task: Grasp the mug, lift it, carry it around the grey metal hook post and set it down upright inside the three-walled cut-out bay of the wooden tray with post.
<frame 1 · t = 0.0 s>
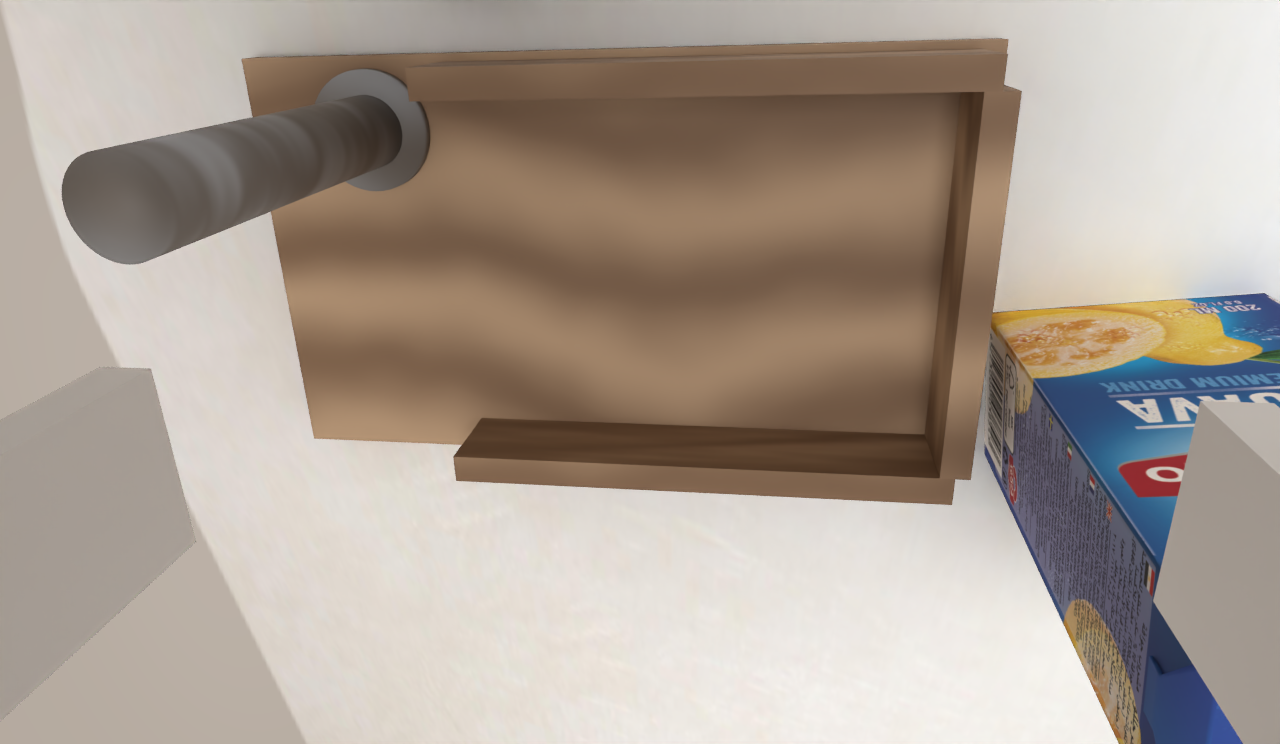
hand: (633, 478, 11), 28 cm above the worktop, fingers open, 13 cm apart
wooden tray with post: (614, 261, 39), on the worktop
beverage box: (1114, 375, 38), on the worktop
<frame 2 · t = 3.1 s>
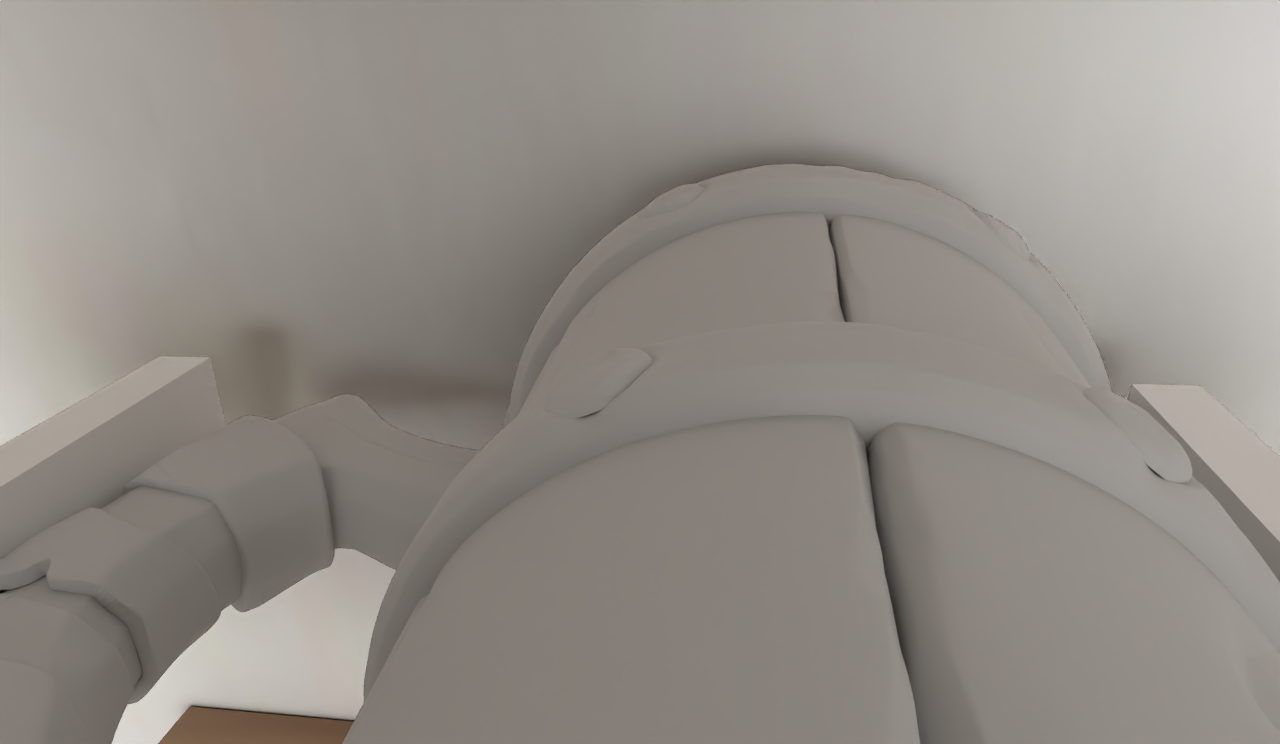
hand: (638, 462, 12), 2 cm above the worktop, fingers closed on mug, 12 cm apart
mug: (658, 396, 13), on the worktop, touching gripper
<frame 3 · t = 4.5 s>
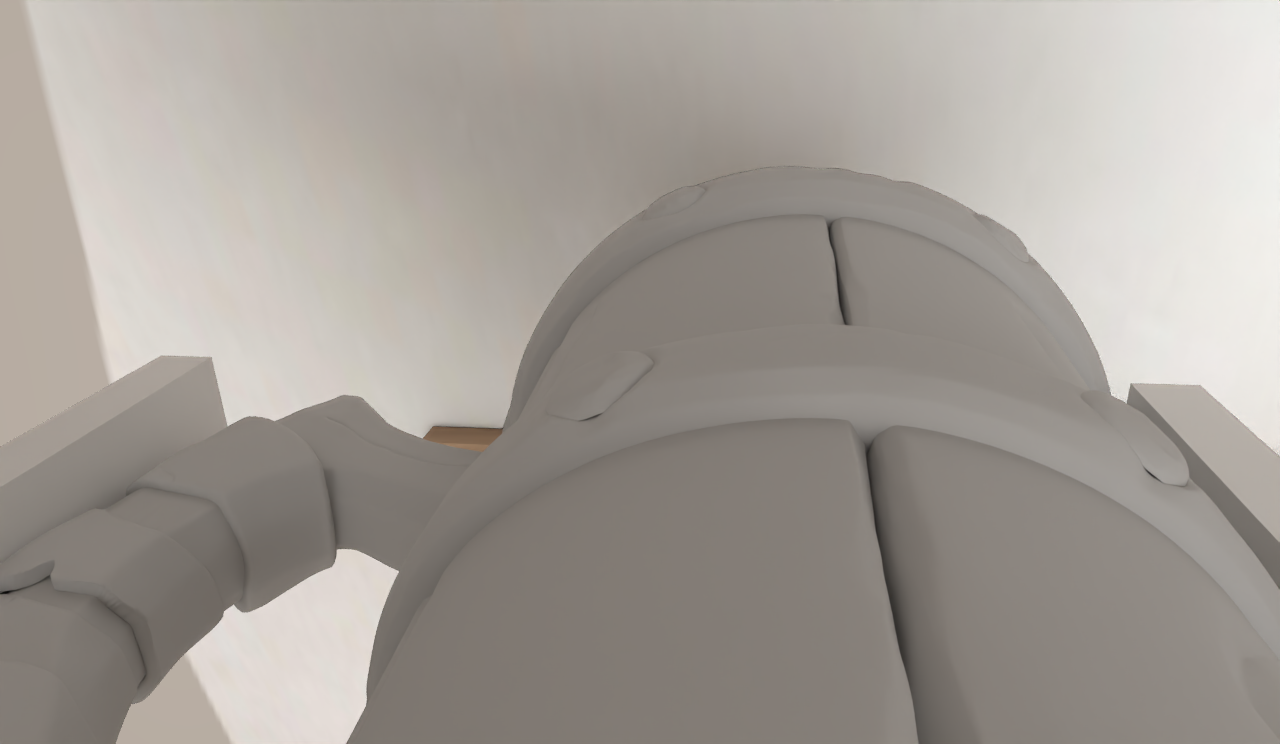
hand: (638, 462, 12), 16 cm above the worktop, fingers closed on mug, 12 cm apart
wooden tray with post: (879, 671, 31), on the worktop
mug: (658, 397, 14), point 13 cm above the worktop, touching gripper
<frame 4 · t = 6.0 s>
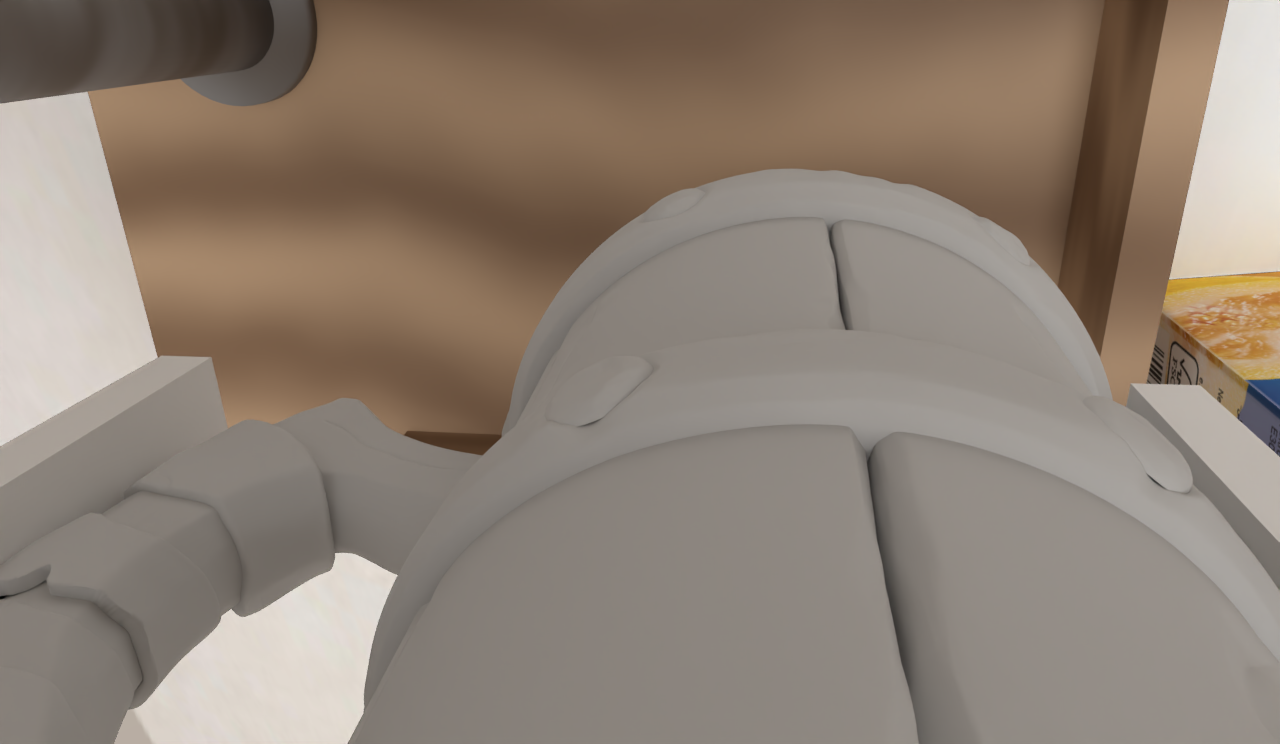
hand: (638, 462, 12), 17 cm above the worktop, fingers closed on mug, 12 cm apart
wooden tray with post: (588, 210, 28), on the worktop
mug: (658, 399, 13), point 15 cm above the worktop, touching gripper
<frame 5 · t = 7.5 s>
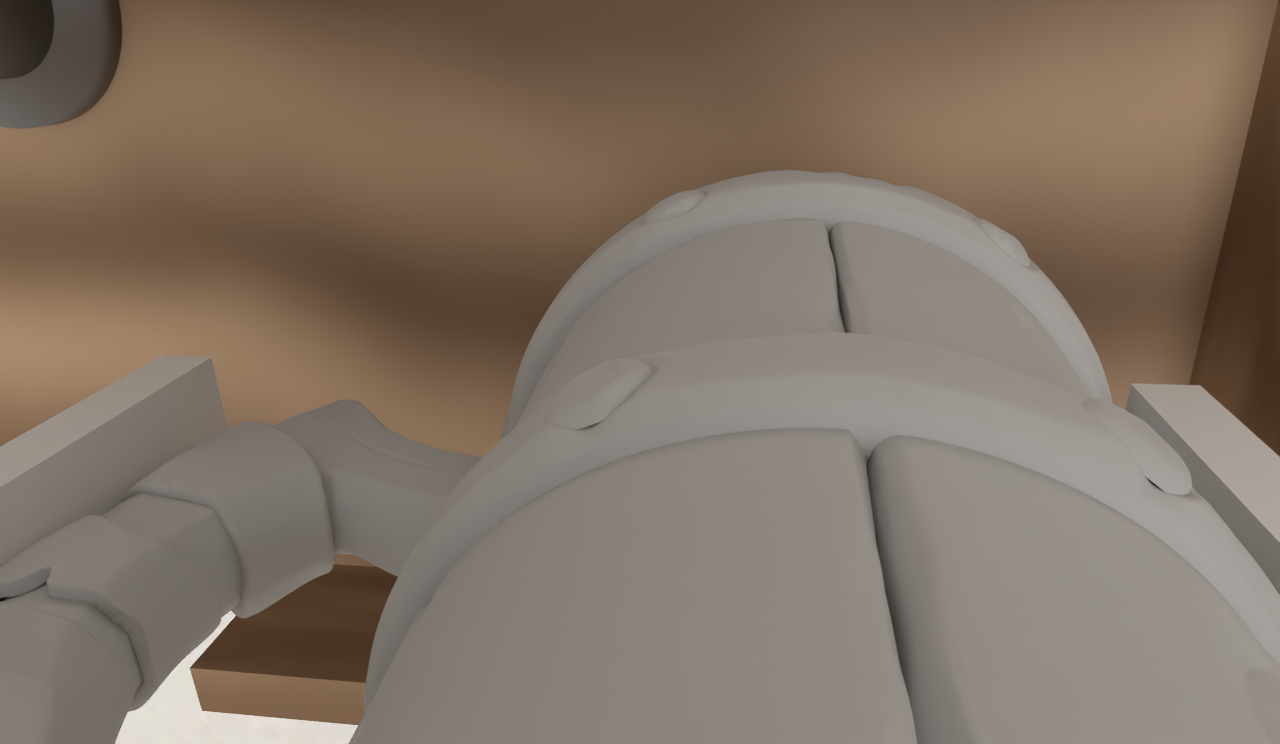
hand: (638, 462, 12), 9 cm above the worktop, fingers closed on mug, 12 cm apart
wooden tray with post: (519, 271, 20), on the worktop
mug: (658, 400, 13), point 6 cm above the worktop, touching gripper
when the fingers open (4 cm above the worktop, at t = 9.0 s): mug drops 1 cm, resting on wooden tray with post.
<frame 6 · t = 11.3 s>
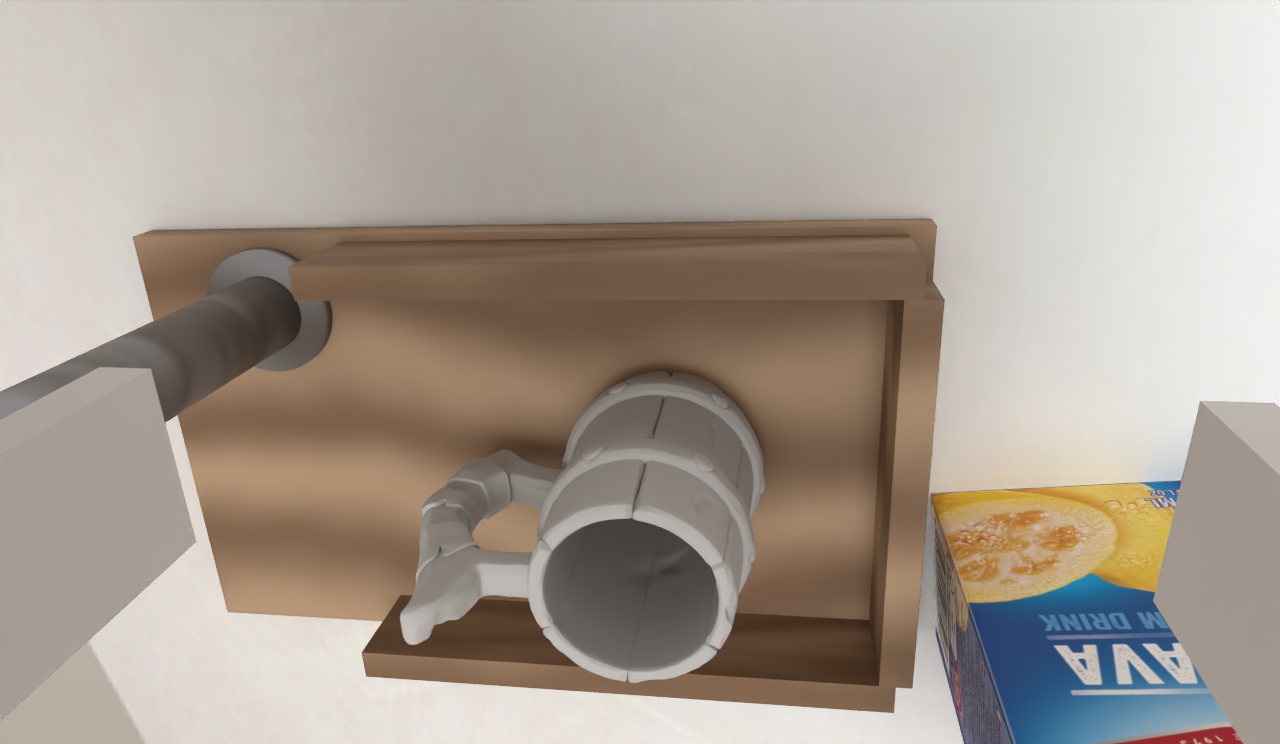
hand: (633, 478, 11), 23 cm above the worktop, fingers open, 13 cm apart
wooden tray with post: (534, 436, 37), on the worktop
mug: (618, 447, 35), point 1 cm above the worktop, touching wooden tray with post
beverage box: (1070, 557, 36), on the worktop
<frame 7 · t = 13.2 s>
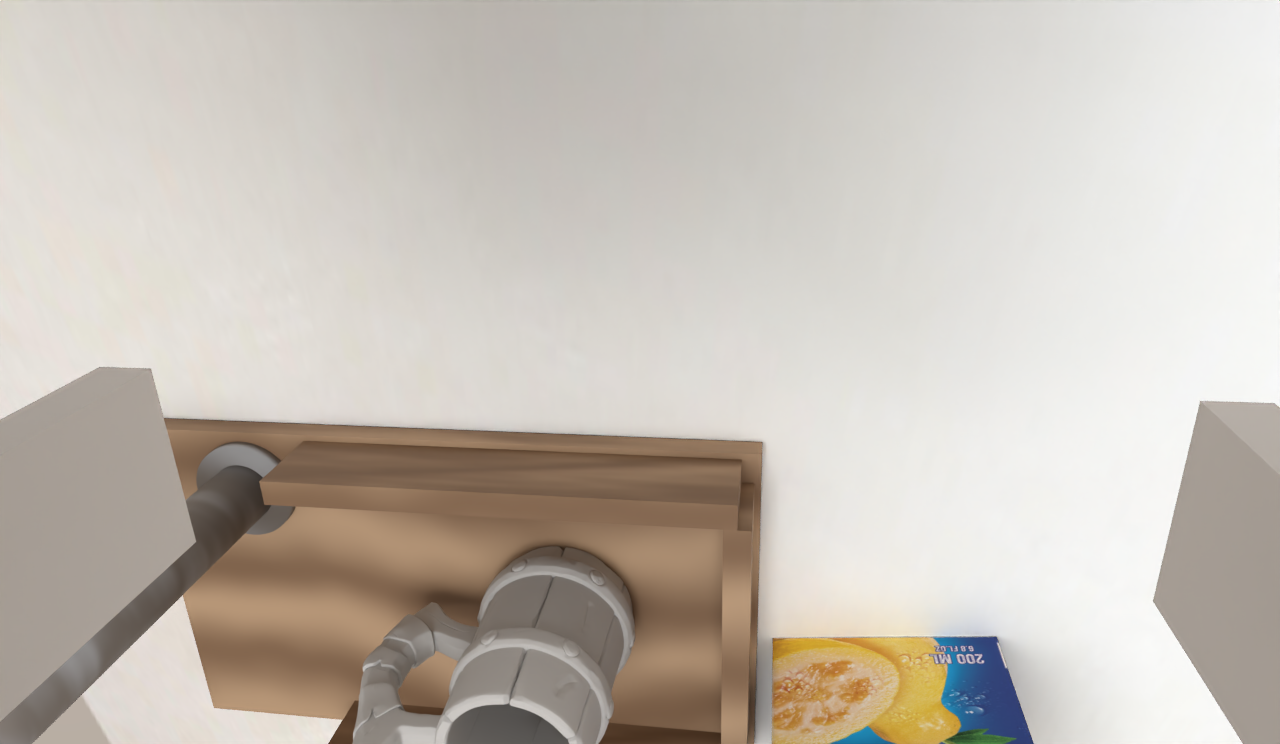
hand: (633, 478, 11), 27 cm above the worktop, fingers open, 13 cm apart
wooden tray with post: (461, 583, 46), on the worktop
mug: (525, 598, 45), point 1 cm above the worktop, touching wooden tray with post
beverage box: (883, 688, 45), on the worktop
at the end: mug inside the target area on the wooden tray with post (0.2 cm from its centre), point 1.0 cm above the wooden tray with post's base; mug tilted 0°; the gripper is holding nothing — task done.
